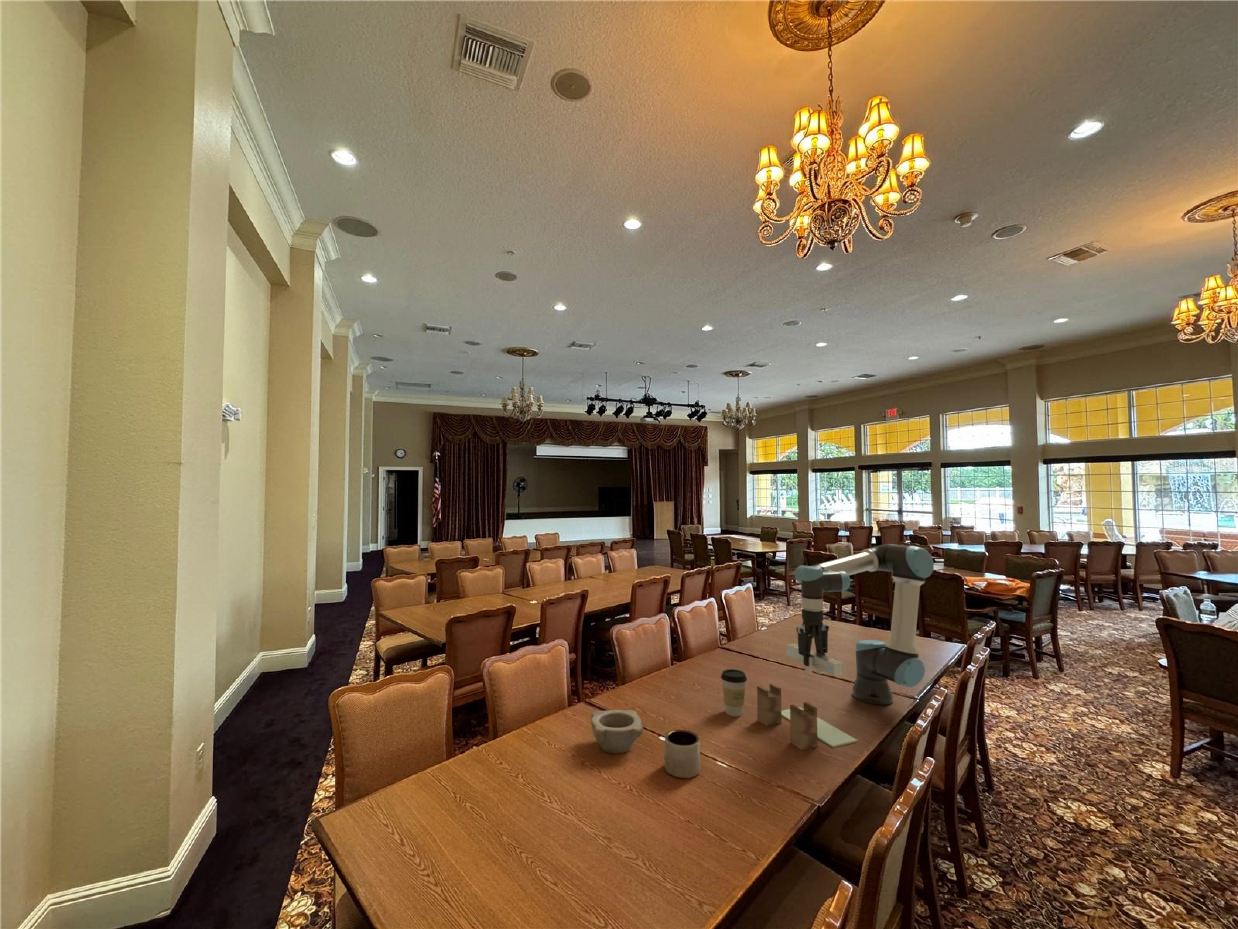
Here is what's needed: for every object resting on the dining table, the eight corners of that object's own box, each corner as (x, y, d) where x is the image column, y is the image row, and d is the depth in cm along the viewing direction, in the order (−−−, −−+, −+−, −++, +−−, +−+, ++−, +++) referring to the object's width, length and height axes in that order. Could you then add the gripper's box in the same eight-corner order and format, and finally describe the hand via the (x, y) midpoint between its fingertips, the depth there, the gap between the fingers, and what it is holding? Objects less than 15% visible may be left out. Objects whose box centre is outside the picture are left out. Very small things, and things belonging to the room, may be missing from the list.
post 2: (806, 739, 168) (806, 702, 169) (817, 746, 164) (816, 708, 165) (790, 743, 166) (790, 705, 167) (801, 750, 161) (800, 711, 162)
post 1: (772, 717, 185) (772, 683, 186) (781, 723, 181) (781, 688, 181) (757, 720, 183) (757, 686, 184) (766, 726, 178) (765, 691, 179)
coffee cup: (748, 719, 183) (747, 678, 184) (721, 717, 185) (721, 676, 186) (746, 708, 193) (746, 669, 194) (721, 706, 195) (720, 667, 196)
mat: (799, 708, 193) (799, 707, 193) (857, 742, 167) (857, 740, 167) (777, 713, 189) (776, 711, 189) (832, 747, 163) (832, 745, 163)
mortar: (638, 734, 172) (638, 707, 172) (644, 759, 155) (644, 729, 156) (590, 735, 170) (590, 708, 171) (591, 761, 153) (591, 731, 154)
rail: (786, 655, 190) (786, 644, 190) (794, 653, 191) (794, 643, 192) (834, 676, 168) (834, 664, 168) (843, 674, 169) (843, 662, 169)
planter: (677, 783, 142) (677, 749, 143) (657, 765, 152) (657, 733, 152) (707, 774, 147) (707, 741, 148) (686, 757, 157) (686, 726, 157)
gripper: (822, 605, 187) (824, 667, 186) (786, 608, 181) (787, 673, 180) (838, 609, 180) (839, 674, 179) (801, 613, 174) (802, 680, 173)
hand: (813, 673), depth 179 cm, fingers closed on rail, 4 cm apart
